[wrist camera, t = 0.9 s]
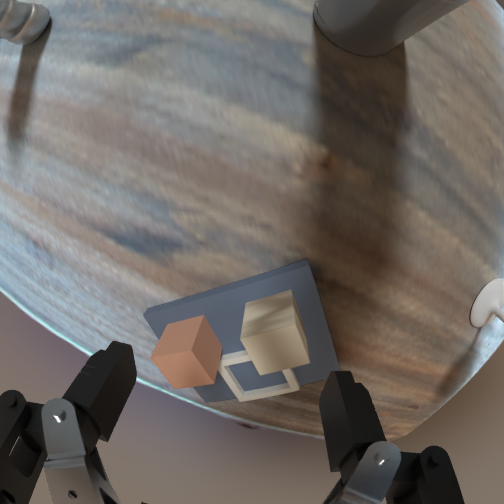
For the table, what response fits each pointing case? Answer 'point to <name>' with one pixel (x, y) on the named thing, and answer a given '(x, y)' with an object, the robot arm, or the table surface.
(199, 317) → the terracotta block
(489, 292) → the wineglass
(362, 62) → the table surface
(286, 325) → the birch block
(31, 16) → the plastic bottle
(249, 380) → the grey board
